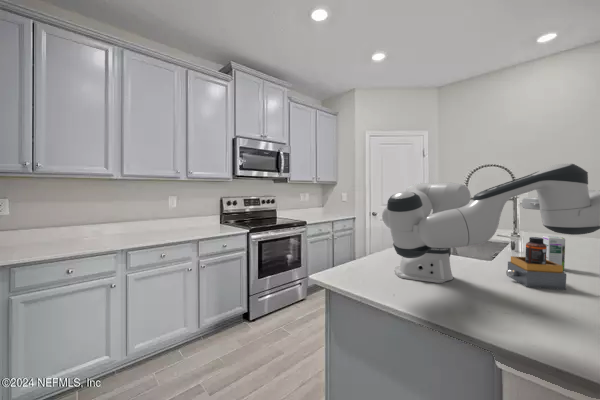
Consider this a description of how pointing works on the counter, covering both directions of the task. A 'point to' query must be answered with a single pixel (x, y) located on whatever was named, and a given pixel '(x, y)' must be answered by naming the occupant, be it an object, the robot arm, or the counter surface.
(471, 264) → the counter surface
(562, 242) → the syrup box
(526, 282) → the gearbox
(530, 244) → the supplement bottle
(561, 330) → the counter surface
